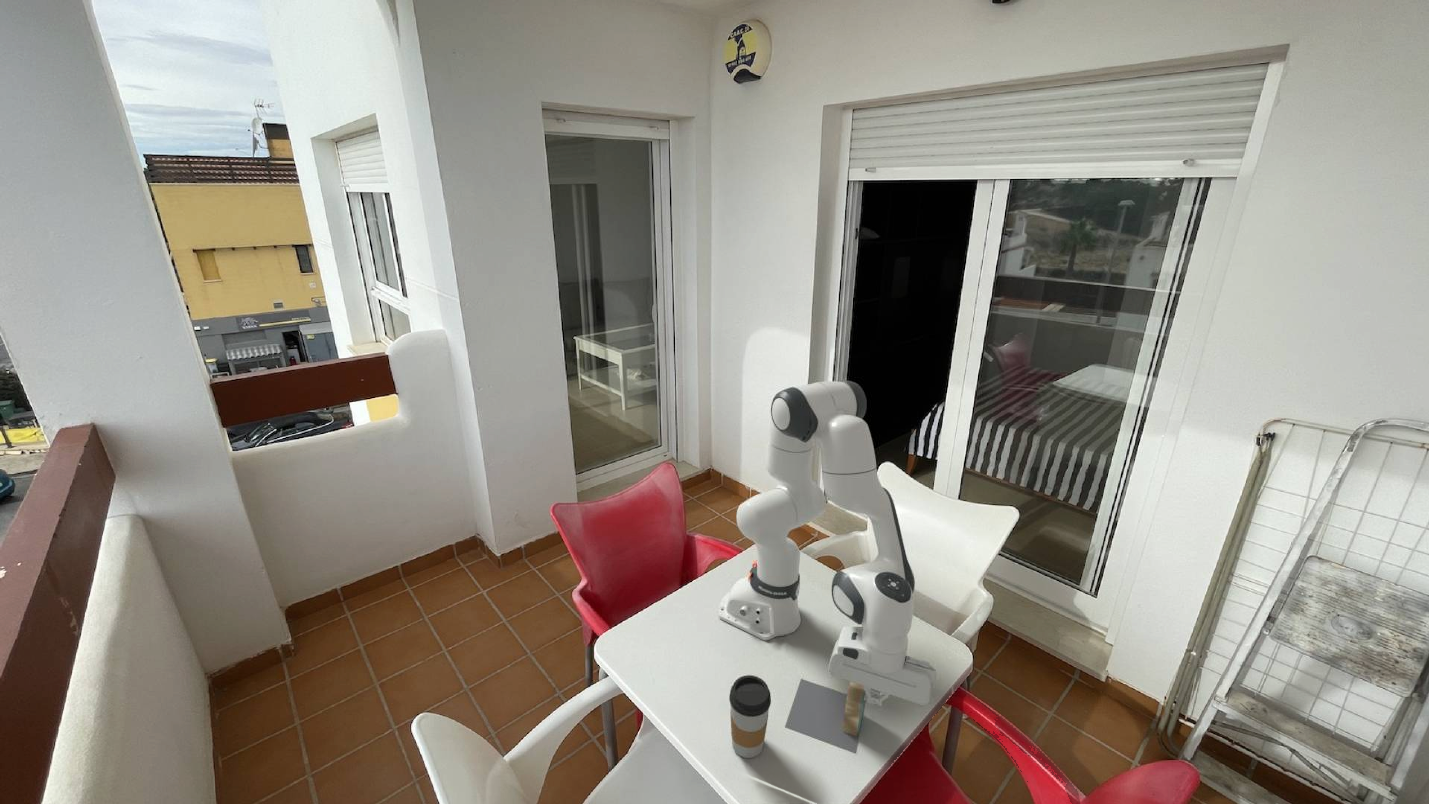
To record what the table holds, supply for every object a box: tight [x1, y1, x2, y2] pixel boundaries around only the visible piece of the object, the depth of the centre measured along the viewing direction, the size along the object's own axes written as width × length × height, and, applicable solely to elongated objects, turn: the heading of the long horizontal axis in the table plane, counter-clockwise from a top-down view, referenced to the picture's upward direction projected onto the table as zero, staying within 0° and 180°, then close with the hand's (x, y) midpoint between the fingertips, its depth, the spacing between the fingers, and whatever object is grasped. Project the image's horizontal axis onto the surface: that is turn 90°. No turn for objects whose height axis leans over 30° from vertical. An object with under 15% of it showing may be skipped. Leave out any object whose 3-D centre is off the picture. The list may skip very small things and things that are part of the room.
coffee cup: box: [728, 674, 772, 759], centre depth 110 cm, size 8×8×15 cm
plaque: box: [842, 681, 866, 736], centre depth 116 cm, size 3×6×9 cm, turn 157°
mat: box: [784, 678, 866, 754], centre depth 120 cm, size 15×14×1 cm
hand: (874, 701), depth 114 cm, fingers closed
